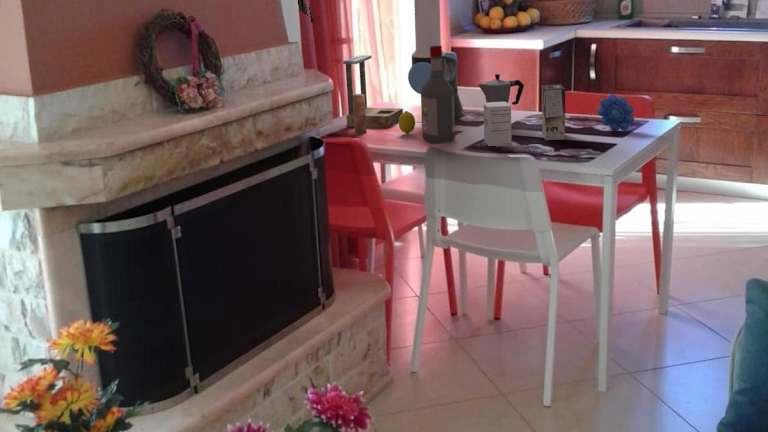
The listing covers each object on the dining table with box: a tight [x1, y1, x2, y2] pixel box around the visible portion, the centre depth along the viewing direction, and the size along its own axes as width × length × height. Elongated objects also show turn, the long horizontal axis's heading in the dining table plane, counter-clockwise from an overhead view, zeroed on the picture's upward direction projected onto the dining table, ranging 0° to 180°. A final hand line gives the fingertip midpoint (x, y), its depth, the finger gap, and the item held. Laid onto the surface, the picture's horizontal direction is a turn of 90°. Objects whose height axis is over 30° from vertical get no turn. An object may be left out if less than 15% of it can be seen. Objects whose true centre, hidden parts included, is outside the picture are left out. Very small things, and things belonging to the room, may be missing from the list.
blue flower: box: [596, 93, 635, 132], centre depth 284 cm, size 12×7×12 cm, turn 72°
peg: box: [352, 93, 367, 135], centre depth 302 cm, size 4×4×13 cm
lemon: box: [398, 110, 416, 135], centre depth 296 cm, size 6×6×8 cm
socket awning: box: [342, 54, 404, 129], centre depth 315 cm, size 16×14×23 cm
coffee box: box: [541, 83, 566, 141], centre depth 281 cm, size 9×6×16 cm
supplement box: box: [483, 102, 512, 147], centre depth 277 cm, size 7×7×13 cm
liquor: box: [420, 45, 456, 144], centre depth 283 cm, size 9×9×30 cm
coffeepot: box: [477, 73, 525, 127], centre depth 299 cm, size 15×9×18 cm, turn 92°
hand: (300, 43), depth 322 cm, fingers open, 13 cm apart
